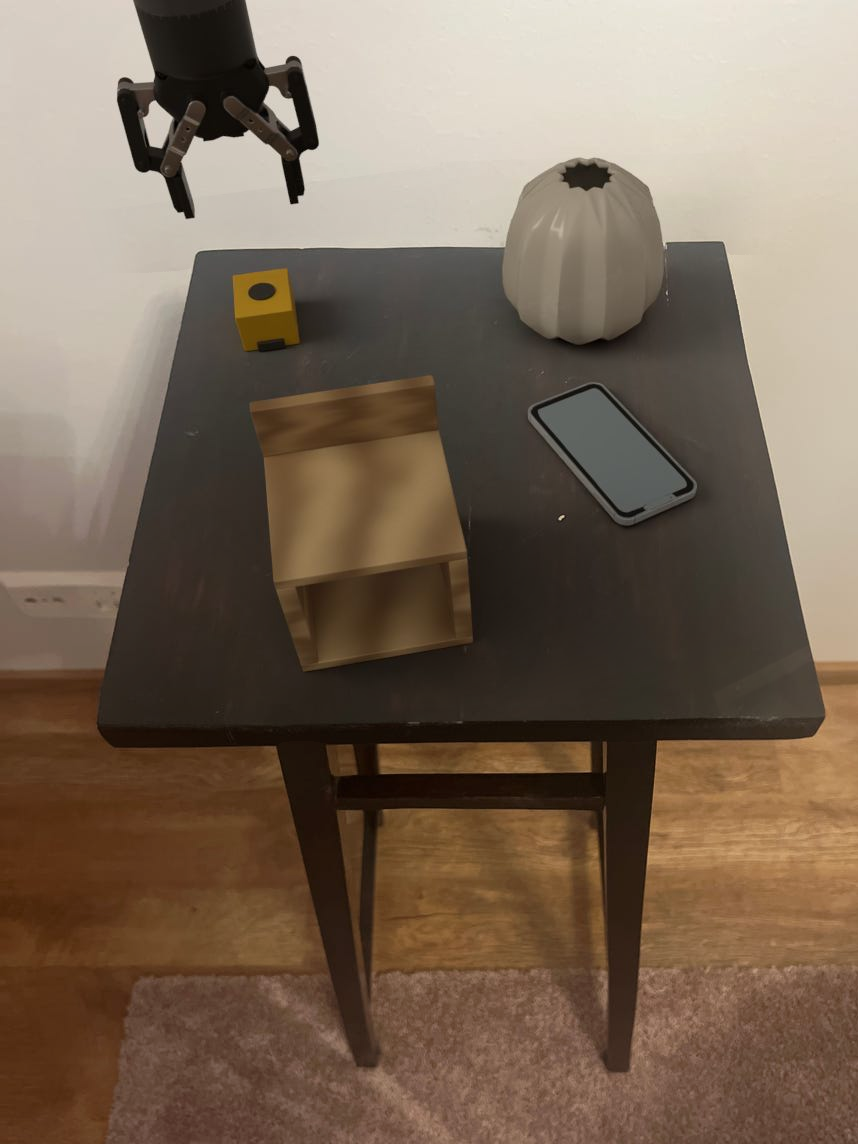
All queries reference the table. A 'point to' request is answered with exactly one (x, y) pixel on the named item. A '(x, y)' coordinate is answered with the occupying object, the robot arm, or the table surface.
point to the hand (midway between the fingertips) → (242, 206)
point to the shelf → (363, 523)
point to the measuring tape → (265, 310)
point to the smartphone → (612, 453)
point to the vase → (583, 252)
